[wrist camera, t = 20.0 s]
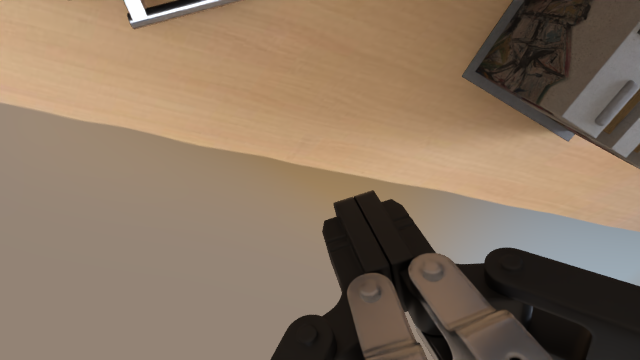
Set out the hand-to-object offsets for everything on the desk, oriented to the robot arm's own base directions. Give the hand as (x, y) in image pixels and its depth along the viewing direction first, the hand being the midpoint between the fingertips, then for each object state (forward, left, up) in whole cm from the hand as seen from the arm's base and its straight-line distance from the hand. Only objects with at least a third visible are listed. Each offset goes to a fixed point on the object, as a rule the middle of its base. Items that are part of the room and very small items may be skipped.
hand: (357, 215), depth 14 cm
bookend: (-41, +8, -35) cm, 54 cm away
